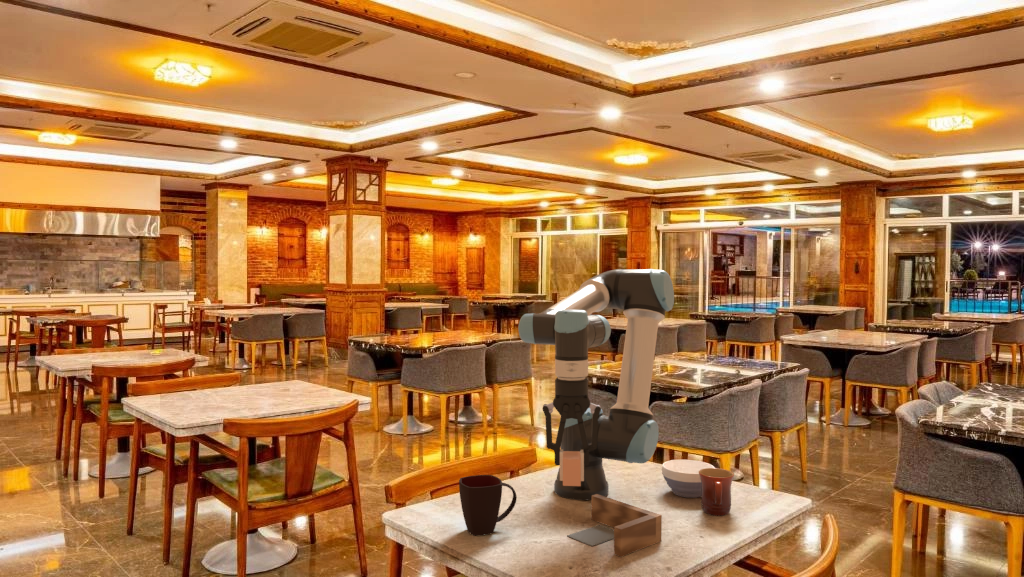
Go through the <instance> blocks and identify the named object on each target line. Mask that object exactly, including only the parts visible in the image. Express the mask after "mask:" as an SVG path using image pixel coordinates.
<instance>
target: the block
mask: <svg viewBox="0 0 1024 577" xmlns="http://www.w3.org/2000/svg"><path fill="white" fill-rule="evenodd" d="M563 486H581V457H580V451H563Z"/></svg>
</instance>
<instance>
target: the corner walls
mask: <svg viewBox="0 0 1024 577" xmlns="http://www.w3.org/2000/svg"><path fill="white" fill-rule="evenodd" d="M590 510H591V515H590V516H591V518H590V519H591V521H594V522H597V523H599V524H601V525H604V526H605V525H606V526H607V527H610V528H614V529H613V530H614V539H613V540H614V541H613V554H614V555H615V556H618V557H620V558H622V557H624V556H627V555H629V554H631V553H632V554H633V553H636V552H638V551H640V550H642V549H644V548H645V549H646V548H647V547H650V546H652V545H655V544H658V543H660V542H662V522H663V521H662V519H663V518H662V515H663V514H659V513H657V512H653V511H650V510H647V509H644V508H641V507H638V506H634V505H632V504H629V503H626V502H622V501H619V500H617V499H613V498H610V497H607V496H602V495H598V494H595V495H592V500H591V509H590Z"/></svg>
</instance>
